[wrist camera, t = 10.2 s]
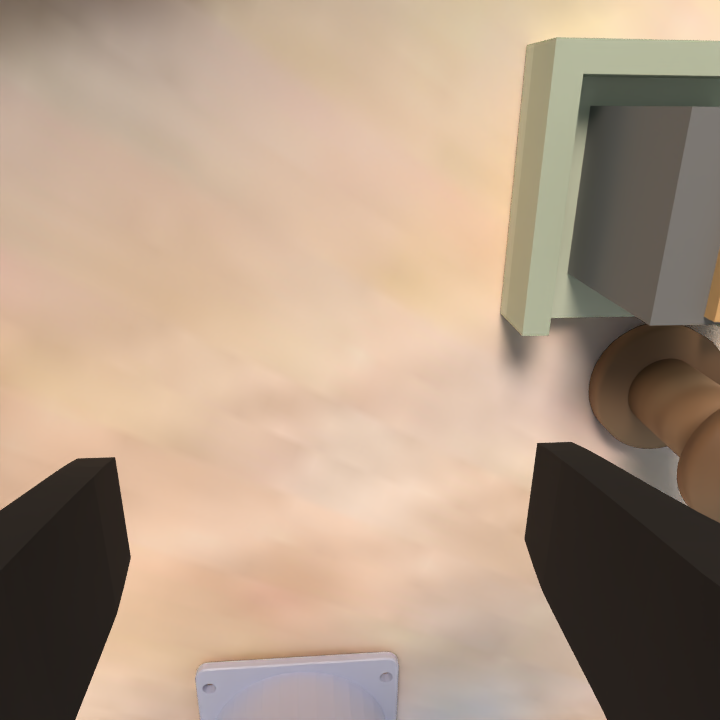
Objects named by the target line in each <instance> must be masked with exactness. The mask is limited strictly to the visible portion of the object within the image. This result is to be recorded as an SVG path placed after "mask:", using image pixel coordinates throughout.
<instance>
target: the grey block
mask: <svg viewBox="0 0 720 720" xmlns="http://www.w3.org/2000/svg"><path fill="white" fill-rule="evenodd" d="M567 273H568V274H570V275H571V276H573V277H574V278H576V279H577V280H579V281H581V282H582V283H584V284H585V285H587V286H588V287H590V288H592V289H593V290H595V291H596V292H598V293H599V294H601V295H602V296H604V297H606V298H607V299H609V300H610V301H612V302H613V303H615V304H617V305H618V306H620V307H621V308H623V309H624V310H626V311H628V312H629V313H631V314H632V315H634V316H635V317H637V318H639V319H640V320H642V321H643V322H645V323H646V324H648V325H650V326H656V325H712V324H720V107H695V106H590V112H589V120H588V127H587V134H586V141H585V149H584V156H583V163H582V170H581V178H580V185H579V192H578V199H577V207H576V214H575V221H574V228H573V235H572V243H571V250H570V257H569V264H568V272H567Z"/></svg>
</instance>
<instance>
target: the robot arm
mask: <svg viewBox="0 0 720 720" xmlns="http://www.w3.org/2000/svg"><path fill="white" fill-rule="evenodd" d="M525 542H526V545H527V548H528V551H529V554H530V558H531V561H532V564H533V567H534V569H535V572H536V575H537V578H538V580H539V583H540V586H541V589H542V591H543V593H544V595H545V597H546V599H547V601H548V603H549V605H550V607H551V609H552V611H553V613H554V615H555V617H556V619H557V621H558V623H559V625H560V627H561V629H562V631H563V633H564V635H565V637H566V639H567V641H568V643H569V645H570V647H571V649H572V651H573V653H574V655H575V657H576V659H577V661H578V663H579V665H580V667H581V669H582V670H583V672H584V674H585V676H586V678H587V680H588V682H589V684H590V686H591V688H592V690H593V692H594V694H595V696H596V698H597V700H598V702H599V704H600V706H601V708H602V710H603V712H604V714H605V716H606V718H607V720H720V523H719V522H717V521H715V520H713V519H711V518H709V517H707V516H705V515H703V514H701V513H699V512H697V511H696V510H694V509H692V508H690V507H688V506H686V505H684V504H683V503H681V502H679V501H677V500H675V499H673V498H672V497H670V496H668V495H666V494H665V493H663V492H661V491H659V490H657V489H656V488H654V487H652V486H650V485H649V484H647V483H645V482H643V481H642V480H640V479H638V478H637V477H635V476H633V475H631V474H630V473H628V472H626V471H624V470H623V469H621V468H619V467H618V466H616V465H614V464H612V463H611V462H609V461H607V460H605V459H604V458H602V457H600V456H598V455H596V454H595V453H593V452H591V451H589V450H587V449H585V448H583V447H581V446H579V445H577V444H575V443H572V442H557V443H537V450H536V457H535V465H534V472H533V479H532V487H531V494H530V502H529V509H528V517H527V524H526V532H525ZM130 558H131V556H130V550H129V543H128V537H127V531H126V524H125V518H124V511H123V505H122V499H121V492H120V486H119V479H118V473H117V467H116V460H115V457H111V458H81V459H76V460H74V461H72V462H71V463H69V464H67V465H66V466H64V467H63V468H61V469H59V470H58V471H56V472H55V473H54V474H52V475H51V476H49V477H48V478H46V479H45V480H43V481H42V482H41V483H39V484H38V485H36V486H35V487H33V488H32V489H31V490H29V491H28V492H26V493H25V494H23V495H22V496H21V497H19V498H18V499H16V500H15V501H13V502H12V503H10V504H9V505H8V506H6V507H5V508H3V509H2V510H0V720H75V719H76V716H77V714H78V711H79V709H80V706H81V704H82V701H83V699H84V696H85V694H86V691H87V689H88V686H89V684H90V681H91V679H92V676H93V674H94V671H95V669H96V666H97V664H98V661H99V659H100V656H101V654H102V651H103V648H104V646H105V643H106V641H107V638H108V636H109V633H110V630H111V628H112V625H113V622H114V620H115V617H116V615H117V611H118V608H119V604H120V600H121V596H122V592H123V588H124V584H125V580H126V576H127V571H128V567H129V563H130ZM386 672H387V674H383V673H386ZM398 672H399V665H398V659H397V656H396V655H395V654H394V653H391V652H371V653H354V654H338V655H321V656H305V657H288V658H272V659H255V660H239V661H222V662H208V663H203V664H202V665H200V666H199V667H198V668H197V672H196V678H195V680H196V689H197V697H198V706H199V714H200V720H396V715H397V693H398ZM207 684H213V685H207Z"/></svg>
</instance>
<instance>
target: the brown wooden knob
mask: <svg viewBox="0 0 720 720" xmlns="http://www.w3.org/2000/svg"><path fill="white" fill-rule="evenodd" d="M589 400H590V405H591V408H592V410H593V413H594V414H595V416H596V418H597V419H598V420H599V422H600V423H601V424H602V425H603V426H604V427H605V428H606V429H607V430H608V431H609V433H610V434H611V435H613V436H614V437H615V438H616V439H617V440H619V441H621V442H622V443H624V444H627V445H629V446H632V447H636V448H643V449H653V448H661V447H666V446H668V447H669V448H670V449H671V450H672V451H673V452H674V453H675V454H677V455H678V456H679V457H680V459H679V462H678V468H677V483H678V488H679V491H680V494H681V496H682V498H683V500H684V501H685V502H686V504H687V505H688V506H689V507H690V508H692V509H694V510H696V511H697V512H699V513H701V514H703V515H705V516H707V517H709V518H711V519H713V520H715V521H717V522H719V523H720V351H719V349H718V348H717V347H716V346H715V345H714V343H713V342H711V341H710V340H709V339H707V338H706V337H704V336H703V335H701V334H699V333H697V332H696V331H694V330H692V329H690V328H688V327H687V326H684V325H656V326H650V325H648V324H645V325H642V326H639V327H637V328H634V329H632V330H630V331H628V332H627V333H625V334H623V335H622V336H620V337H619V338H618V339H617V340H615V341H614V342H613V343H612V344H611V345H610V346H609V347H608V348H607V349H606V350H605V351H604V353H603V354H602V355H601V357H600V358H599V360H598V362H597V363H596V365H595V367H594V370H593V372H592V375H591V379H590V384H589Z"/></svg>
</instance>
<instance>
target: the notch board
mask: <svg viewBox="0 0 720 720" xmlns="http://www.w3.org/2000/svg"><path fill="white" fill-rule="evenodd" d="M590 106H695V107H720V41H699V40H652V39H606V38H559V37H556V38H553V39H549V40H545V41H541V42H537V43H533V44H530V45H527V50H526V60H525V70H524V80H523V91H522V101H521V111H520V121H519V131H518V141H517V151H516V161H515V171H514V181H513V191H512V201H511V211H510V221H509V231H508V241H507V251H506V261H505V271H504V281H503V291H502V301H501V311H500V313H501V314H502V315H503V316H504V317H505V318H506V319H507V321H508V322H509V323H510V324H511V325H512V326H513V327H514V328H515V329H516V330H517V331H518V332H519V333H520V334H521V335H522V336H549V330H550V322H551V318H583V317H635V316H634V315H632V314H631V313H629V312H628V311H626V310H624V309H623V308H621V307H620V306H618V305H617V304H615V303H613V302H612V301H610V300H609V299H607V298H606V297H604V296H602V295H601V294H599V293H598V292H596V291H595V290H593V289H592V288H590V287H588V286H587V285H585V284H584V283H582V282H581V281H579V280H577V279H576V278H574V277H573V276H571V275H570V274H568V273H567V272H568V264H569V257H570V250H571V243H572V235H573V228H574V221H575V214H576V207H577V199H578V192H579V185H580V178H581V170H582V163H583V156H584V149H585V141H586V134H587V127H588V120H589V112H590ZM715 325H717V326H719V327H720V324H715Z"/></svg>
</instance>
